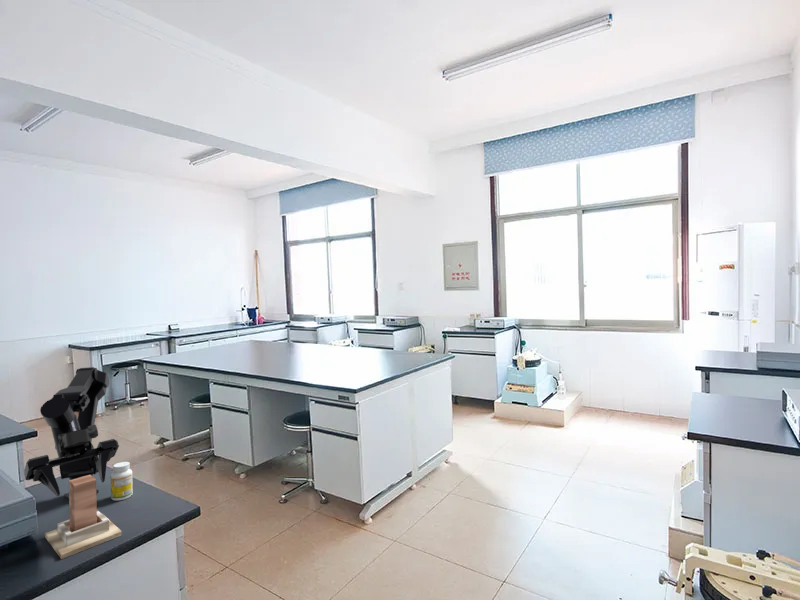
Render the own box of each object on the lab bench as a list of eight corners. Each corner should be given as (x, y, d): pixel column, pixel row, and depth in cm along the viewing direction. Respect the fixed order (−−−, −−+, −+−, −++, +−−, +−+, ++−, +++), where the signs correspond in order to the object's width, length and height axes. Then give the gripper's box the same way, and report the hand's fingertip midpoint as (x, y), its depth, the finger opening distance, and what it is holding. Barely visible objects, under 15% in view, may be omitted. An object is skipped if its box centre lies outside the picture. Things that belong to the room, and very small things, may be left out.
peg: (69, 533, 105) (68, 480, 104) (91, 525, 108) (90, 474, 108) (75, 539, 102) (74, 485, 102) (97, 531, 105) (96, 479, 105)
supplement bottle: (129, 499, 124) (129, 466, 123) (108, 502, 122) (107, 469, 122) (135, 491, 129) (134, 459, 129) (114, 493, 127) (114, 461, 127)
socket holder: (45, 537, 105) (44, 522, 105) (102, 516, 114) (102, 503, 114) (61, 559, 96) (61, 543, 96) (121, 535, 105) (121, 521, 105)
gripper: (25, 426, 101) (38, 485, 95) (115, 408, 116) (132, 459, 109) (18, 451, 106) (30, 509, 100) (105, 431, 121) (121, 481, 114)
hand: (81, 488), depth 106 cm, fingers open, 9 cm apart
